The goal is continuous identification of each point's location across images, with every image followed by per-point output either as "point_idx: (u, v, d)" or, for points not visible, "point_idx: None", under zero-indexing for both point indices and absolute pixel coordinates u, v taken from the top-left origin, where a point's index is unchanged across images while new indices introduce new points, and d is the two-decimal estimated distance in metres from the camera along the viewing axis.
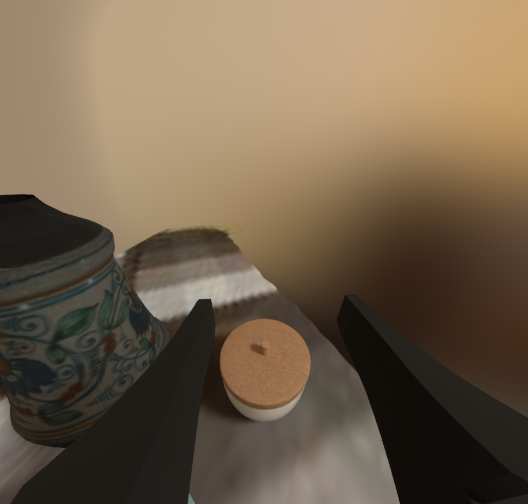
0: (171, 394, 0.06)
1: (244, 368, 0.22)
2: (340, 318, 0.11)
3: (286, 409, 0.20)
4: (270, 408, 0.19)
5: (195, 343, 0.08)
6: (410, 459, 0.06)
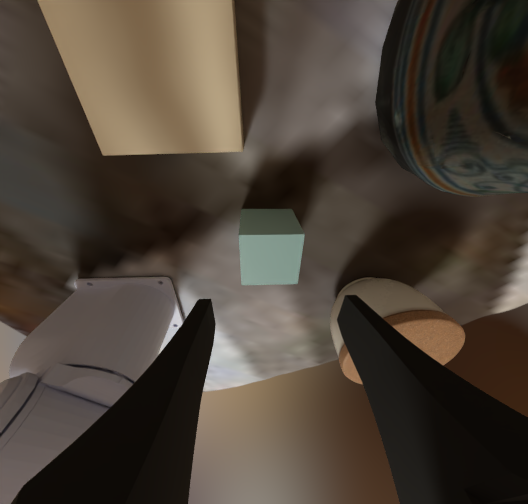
0: (171, 394, 0.06)
1: None
2: (340, 318, 0.11)
3: (335, 347, 0.21)
4: (340, 353, 0.18)
5: (195, 343, 0.08)
6: (411, 460, 0.06)
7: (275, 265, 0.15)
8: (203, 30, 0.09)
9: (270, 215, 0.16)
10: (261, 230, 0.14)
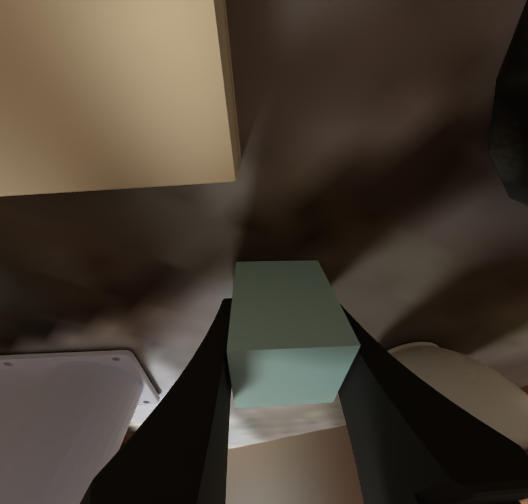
0: (216, 391, 0.06)
1: None
2: None
3: None
4: None
5: None
6: (373, 463, 0.06)
7: (297, 384, 0.08)
8: None
9: (284, 279, 0.09)
10: (272, 330, 0.07)
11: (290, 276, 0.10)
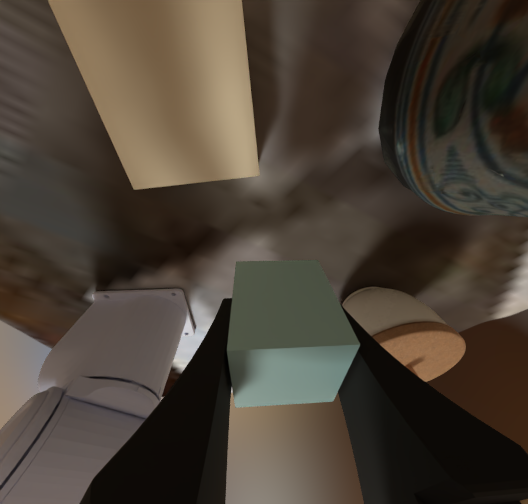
0: (216, 391, 0.06)
1: (397, 355, 0.17)
2: None
3: None
4: None
5: None
6: (373, 463, 0.06)
7: (297, 383, 0.08)
8: (221, 74, 0.10)
9: (284, 279, 0.09)
10: (272, 329, 0.07)
11: (290, 276, 0.10)
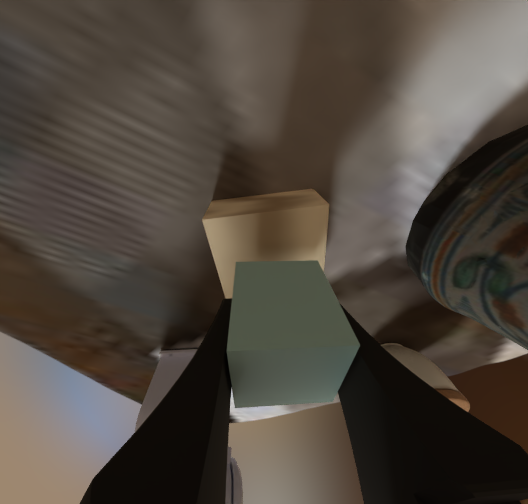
0: (216, 391, 0.06)
1: None
2: None
3: None
4: None
5: None
6: (373, 463, 0.06)
7: (297, 384, 0.08)
8: (306, 248, 0.14)
9: (284, 279, 0.09)
10: (272, 330, 0.07)
11: (290, 276, 0.10)
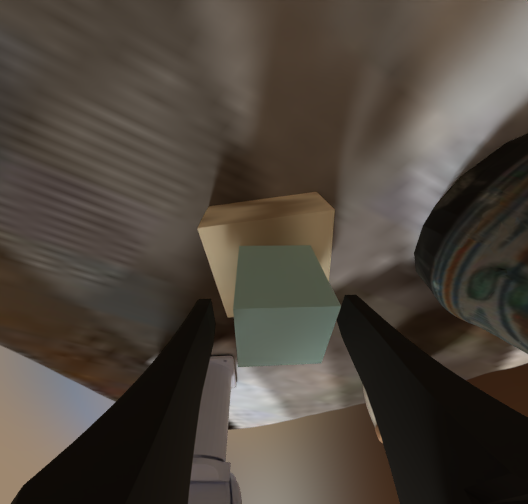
0: (171, 394, 0.06)
1: None
2: (340, 318, 0.11)
3: (370, 414, 0.25)
4: (377, 426, 0.22)
5: (195, 343, 0.08)
6: (410, 459, 0.06)
7: (290, 343, 0.09)
8: None
9: (281, 259, 0.11)
10: (270, 295, 0.09)
11: (286, 257, 0.11)
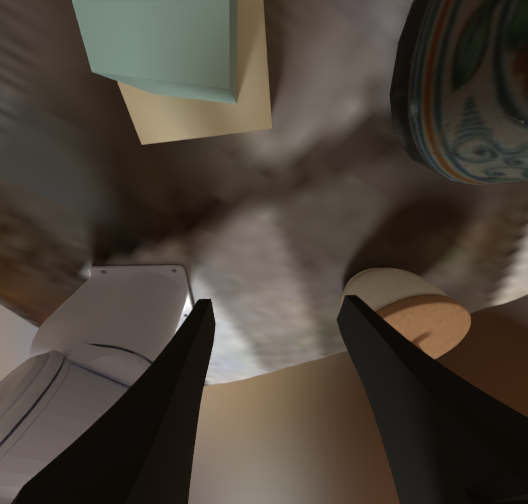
0: (171, 394, 0.06)
1: (403, 329, 0.17)
2: (340, 318, 0.11)
3: None
4: None
5: (195, 343, 0.08)
6: (411, 460, 0.06)
7: None
8: None
9: None
10: None
11: None
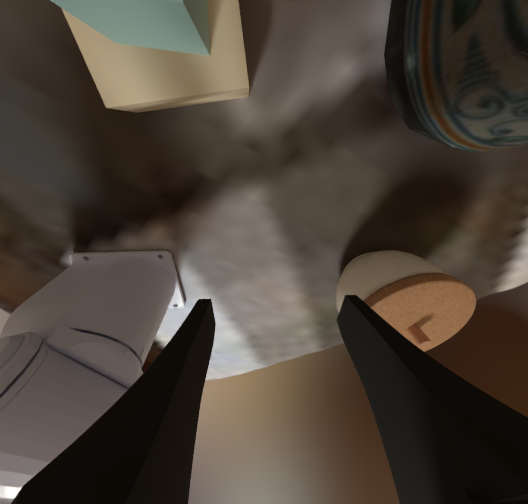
0: (171, 394, 0.06)
1: (403, 311, 0.16)
2: (340, 318, 0.11)
3: None
4: None
5: (195, 343, 0.08)
6: (411, 460, 0.06)
7: None
8: None
9: None
10: None
11: None
